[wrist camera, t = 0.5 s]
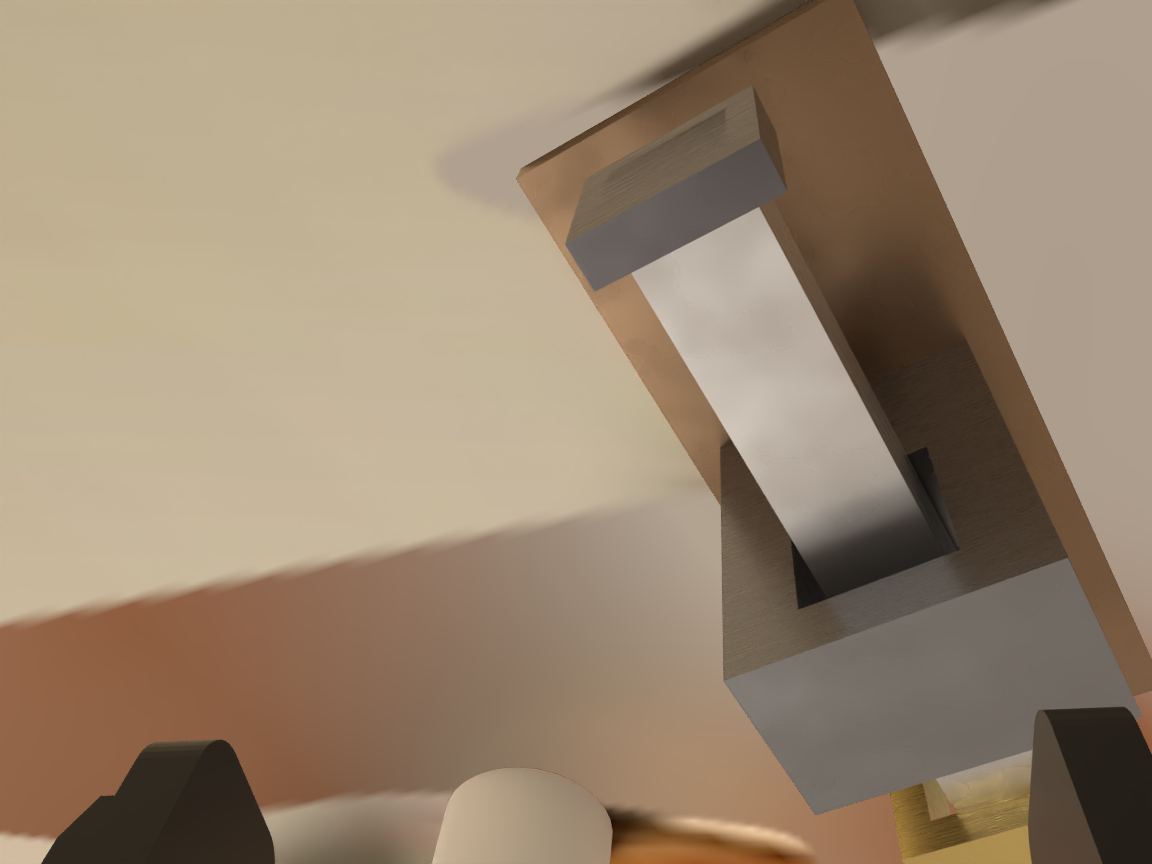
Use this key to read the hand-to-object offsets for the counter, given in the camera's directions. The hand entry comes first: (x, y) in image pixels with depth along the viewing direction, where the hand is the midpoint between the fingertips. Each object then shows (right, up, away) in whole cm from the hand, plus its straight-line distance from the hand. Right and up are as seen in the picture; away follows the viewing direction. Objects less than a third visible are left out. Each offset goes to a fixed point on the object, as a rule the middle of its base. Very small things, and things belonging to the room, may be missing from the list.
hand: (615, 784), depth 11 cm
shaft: (+8, +1, +19) cm, 21 cm away
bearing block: (+9, +3, +24) cm, 26 cm away
